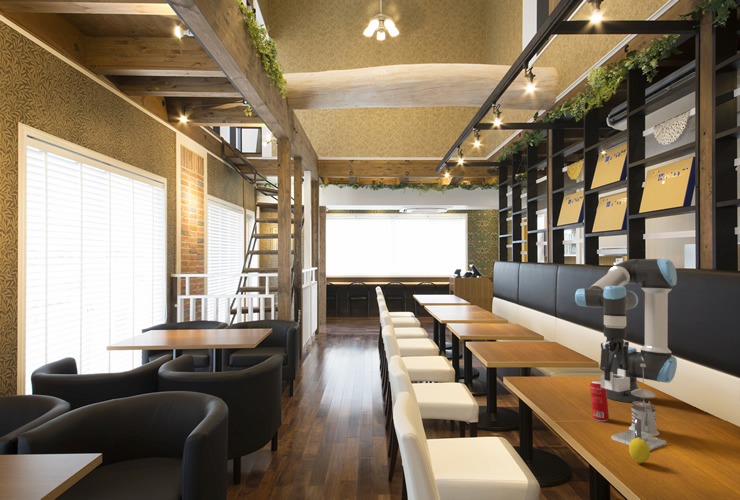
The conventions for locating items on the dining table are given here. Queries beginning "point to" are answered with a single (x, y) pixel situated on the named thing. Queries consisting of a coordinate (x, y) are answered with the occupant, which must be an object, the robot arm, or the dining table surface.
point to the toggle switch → (631, 434)
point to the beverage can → (599, 401)
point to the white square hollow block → (618, 383)
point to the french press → (644, 411)
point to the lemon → (639, 450)
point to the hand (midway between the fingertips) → (615, 387)
